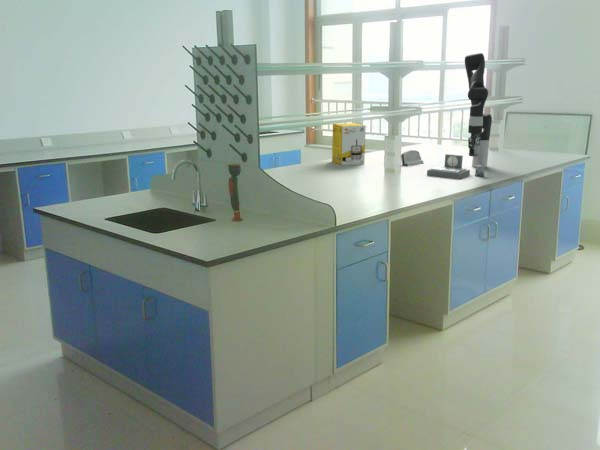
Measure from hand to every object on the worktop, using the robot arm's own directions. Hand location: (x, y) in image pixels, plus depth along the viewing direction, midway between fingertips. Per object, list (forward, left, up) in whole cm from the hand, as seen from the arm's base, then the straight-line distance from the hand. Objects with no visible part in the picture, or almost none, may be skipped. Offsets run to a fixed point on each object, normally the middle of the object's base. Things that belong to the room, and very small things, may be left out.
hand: (473, 154), depth 338 cm
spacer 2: (-14, 0, -14) cm, 20 cm away
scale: (-6, -16, -14) cm, 22 cm away
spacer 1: (0, 0, 0) cm, 0 cm away
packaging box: (-10, -87, -14) cm, 89 cm away
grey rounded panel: (-30, -51, -14) cm, 61 cm away
